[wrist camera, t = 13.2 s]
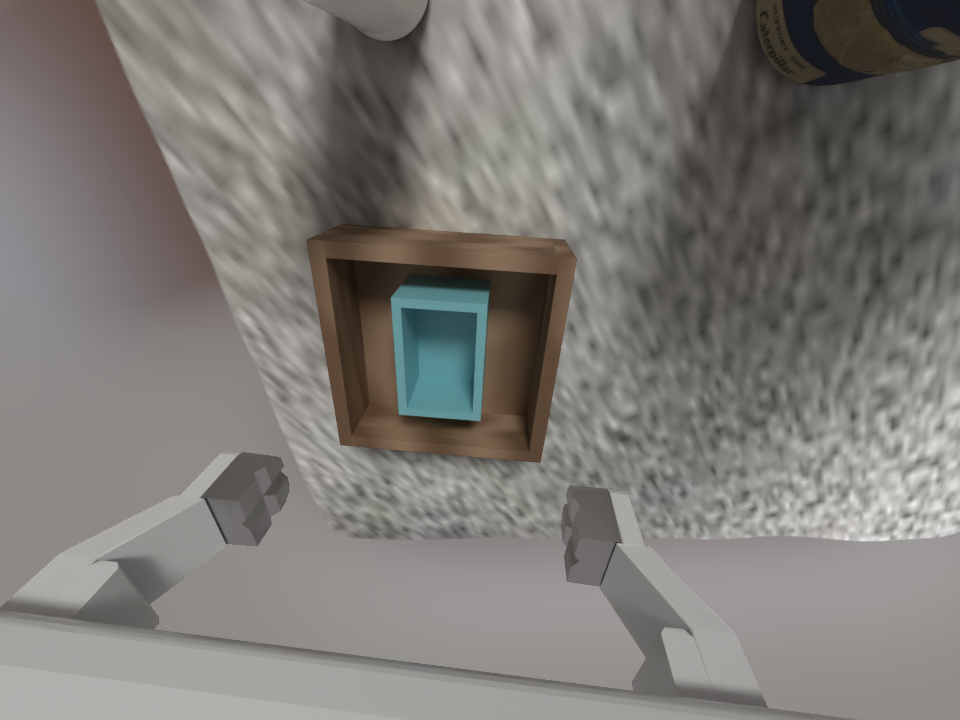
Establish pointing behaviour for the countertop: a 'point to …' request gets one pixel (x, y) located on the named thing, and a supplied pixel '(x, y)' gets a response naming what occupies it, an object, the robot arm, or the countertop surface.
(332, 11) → the white cup
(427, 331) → the teal crate
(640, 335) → the countertop surface
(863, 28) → the canister
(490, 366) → the walnut crate
